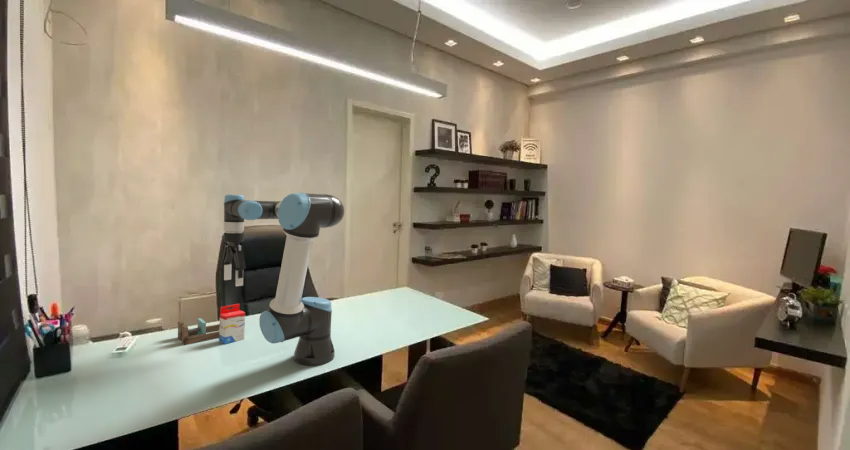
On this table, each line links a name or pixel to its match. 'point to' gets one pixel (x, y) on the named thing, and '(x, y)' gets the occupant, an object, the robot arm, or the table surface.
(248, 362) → the table surface
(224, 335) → the ink box
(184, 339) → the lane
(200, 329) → the pusher
